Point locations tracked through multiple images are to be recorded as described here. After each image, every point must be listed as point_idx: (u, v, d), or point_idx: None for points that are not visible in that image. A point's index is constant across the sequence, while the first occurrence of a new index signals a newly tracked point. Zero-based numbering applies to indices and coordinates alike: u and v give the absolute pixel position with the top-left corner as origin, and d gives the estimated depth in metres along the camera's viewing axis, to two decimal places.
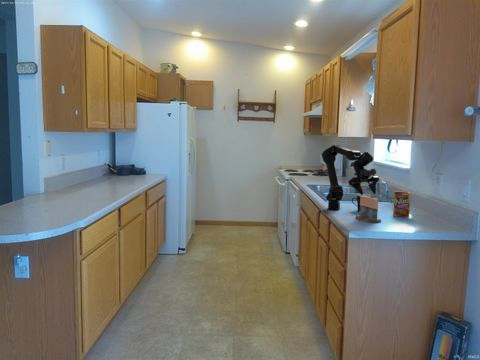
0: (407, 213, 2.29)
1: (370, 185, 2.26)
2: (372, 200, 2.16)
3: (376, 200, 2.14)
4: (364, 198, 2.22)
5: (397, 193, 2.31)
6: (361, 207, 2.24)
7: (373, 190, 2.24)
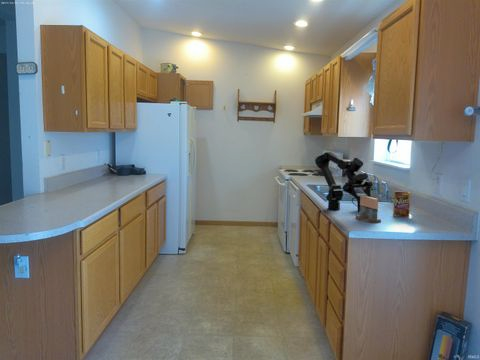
0: (407, 213, 2.29)
1: (365, 190, 2.30)
2: (372, 200, 2.16)
3: (376, 200, 2.14)
4: (364, 198, 2.22)
5: (397, 193, 2.31)
6: (361, 207, 2.24)
7: (368, 194, 2.27)
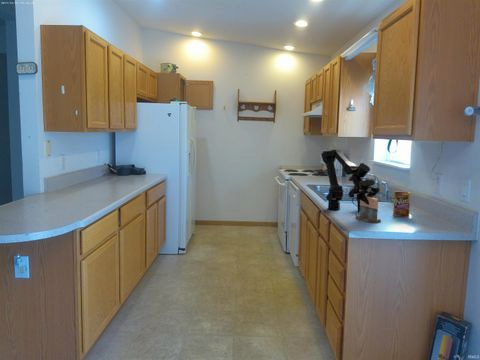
0: (407, 213, 2.29)
1: None
2: (372, 200, 2.16)
3: (376, 200, 2.14)
4: None
5: (397, 193, 2.31)
6: (361, 207, 2.24)
7: None
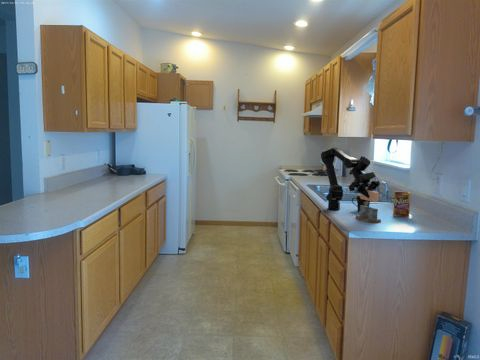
0: (407, 213, 2.29)
1: None
2: (372, 193, 2.15)
3: (376, 193, 2.14)
4: None
5: (397, 193, 2.31)
6: (361, 207, 2.24)
7: None
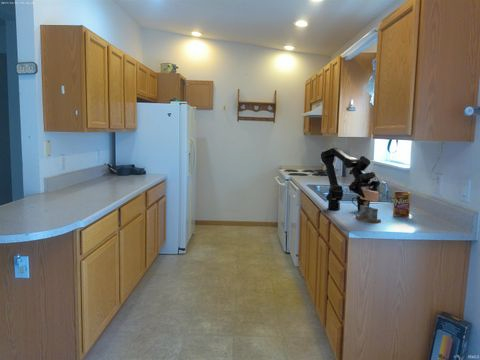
0: (407, 213, 2.29)
1: (371, 189, 2.25)
2: (372, 193, 2.15)
3: (376, 193, 2.14)
4: (364, 191, 2.21)
5: (397, 193, 2.31)
6: (361, 207, 2.24)
7: None
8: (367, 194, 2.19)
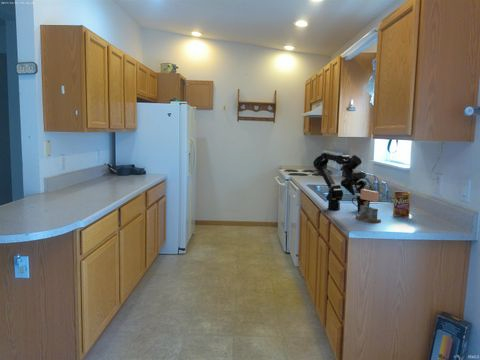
0: (407, 213, 2.29)
1: (358, 188, 2.35)
2: (372, 193, 2.15)
3: (376, 193, 2.14)
4: (364, 191, 2.21)
5: (397, 193, 2.31)
6: (361, 207, 2.24)
7: None
8: (367, 194, 2.19)
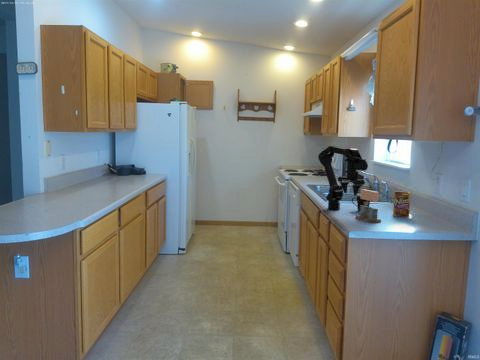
0: (407, 213, 2.29)
1: (343, 184, 2.40)
2: (372, 193, 2.15)
3: (376, 193, 2.14)
4: (364, 191, 2.21)
5: (397, 193, 2.31)
6: (361, 207, 2.24)
7: (345, 190, 2.41)
8: (367, 194, 2.19)
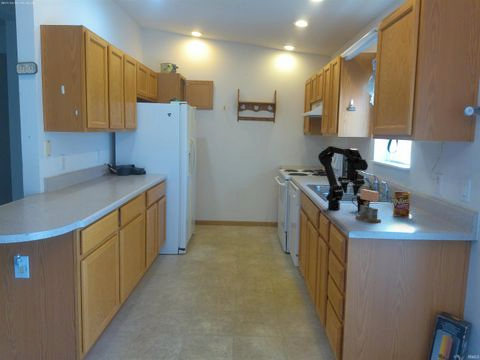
0: (407, 213, 2.29)
1: (343, 184, 2.40)
2: (372, 193, 2.15)
3: (376, 193, 2.14)
4: (364, 191, 2.21)
5: (397, 193, 2.31)
6: (361, 207, 2.24)
7: (345, 190, 2.41)
8: (367, 194, 2.19)
